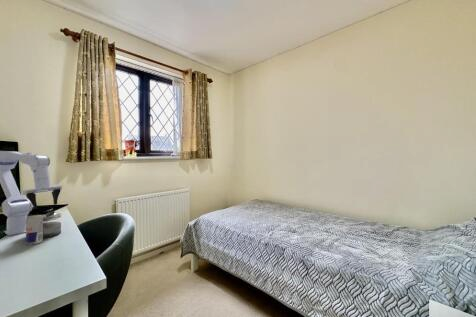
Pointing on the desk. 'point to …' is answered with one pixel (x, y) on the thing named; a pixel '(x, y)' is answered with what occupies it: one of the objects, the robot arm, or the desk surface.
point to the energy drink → (34, 230)
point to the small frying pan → (49, 216)
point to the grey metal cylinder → (51, 229)
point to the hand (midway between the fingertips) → (45, 206)
